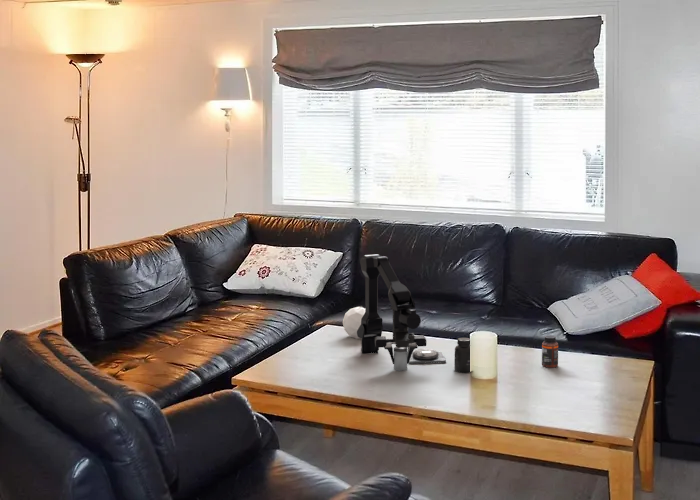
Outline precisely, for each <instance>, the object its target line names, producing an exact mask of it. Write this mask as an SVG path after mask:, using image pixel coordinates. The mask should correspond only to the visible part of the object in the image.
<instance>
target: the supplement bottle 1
mask: <svg viewBox="0 0 700 500" xmlns="http://www.w3.org/2000/svg"><path fill="white" fill-rule="evenodd" d="M470 339H471V338H468V337H459V338H457V342H456V343H457V345H456V346H455V347H454V367H453V368H454V369H453V370H454V371H455V372H457V373H459V374H460V373H461V374H467V373H471V372H470V346H471V345H470Z"/></svg>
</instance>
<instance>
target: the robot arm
mask: <svg viewBox="0 0 700 500" xmlns="http://www.w3.org/2000/svg"><path fill="white" fill-rule="evenodd" d="M389 259H390V258H389V257H388V256H384V255H383V256H381V255H380V254H375V253H374V254H365V255H363V256H362V257H361V258H360V260H359V264H360V268H361V272H362V274H363V276H364V278H365V285H364V286H365V288H364V289H365V291H364V293H365V297H364V298H365V301H364V302H365V303H364V305H365V307H364V308H365V314H364V315H363V317H362V319H361V325H360V327H359V329H358V330H357V336H358V337H359V338H358V339H361V340H360V341H361V346H360V347H361V348H360V351H361V354H364V355H365V354H367V355H368V354H378V353H379V351H380V348H384V350H387V352H388V353H389V356H390V358H391V361H392V365H394V347H393V345H395V347H397V348H400V347H405V348H407V365H408V364H409V360H410V358H411V355H412V352H414V351H415V350H417V349H419V348H418V347H426V346H427V339H426V337H425V335H424V334H423V335H422V334H421V335H417V334H416V335H415V333H414V332H411V333H409V329H411V330H416V329H418V327H419V326H420V325H421V322H422V318H421V316H420V315H419V314H417V310H416V302H415V301H414V298H413V297H412V293H411V291H410V290H409V289H408V288H407V286H406V285H404V283H401V282H400V280H399V278H398V277H397V275H396V273H395V271H394V269H393V267H392V265H391V264H390V260H389ZM379 276H381V278H382V280H383V282H384V284H385V286H386V288H387V290H388V293H387V297H388V300H389V303H390V304H391V306H390V310H392V338H386V336H385V335H382V334H383V329H384V326H383V318H382V317H381V316H380V314H379V313H378V311H379V309H378V306H379V305H378V304H379V292H378V289H379V288H378V287H379V285H378V284H379V282H378V281H379V279H378V278H379Z"/></svg>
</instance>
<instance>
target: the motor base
mask: <svg viewBox="0 0 700 500" xmlns="http://www.w3.org/2000/svg"><path fill="white" fill-rule="evenodd" d="M408 364H409V365H418V364H419V365H421V364H422V365H423V364H425V365H426V364H447V360H446V358H445V355H444V354H443V352H442V351H437V350H435V349H434V348H427V347H426V348H416V349H414V351H413V352H412V355H411V358H410V360H409V363H408Z"/></svg>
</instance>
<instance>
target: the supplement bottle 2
mask: <svg viewBox="0 0 700 500" xmlns="http://www.w3.org/2000/svg"><path fill="white" fill-rule="evenodd" d="M541 365H542V366H543V367H545V368H547V369H548V368H549V369H550V368H556V367H558V366H559V343H558V342H557V340H556V336H555V335H548V334H547V335H545V336H544V341H543V342H542V343H541Z"/></svg>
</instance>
